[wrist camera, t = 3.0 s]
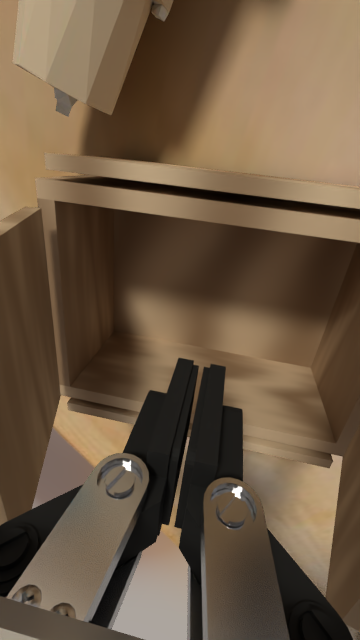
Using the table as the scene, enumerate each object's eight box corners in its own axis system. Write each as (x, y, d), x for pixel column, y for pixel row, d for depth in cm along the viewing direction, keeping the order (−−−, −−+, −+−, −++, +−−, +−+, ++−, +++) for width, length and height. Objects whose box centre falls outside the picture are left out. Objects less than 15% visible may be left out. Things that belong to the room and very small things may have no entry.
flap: (41, 208, 12) (-62, 276, 6) (60, 395, 17) (18, 559, 10) (25, 206, 12) (-100, 275, 5) (49, 395, 17) (-2, 562, 10)
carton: (388, 190, 17) (481, 205, 10) (312, 384, 24) (339, 471, 17) (105, 156, 19) (30, 151, 12) (107, 345, 26) (59, 409, 19)
